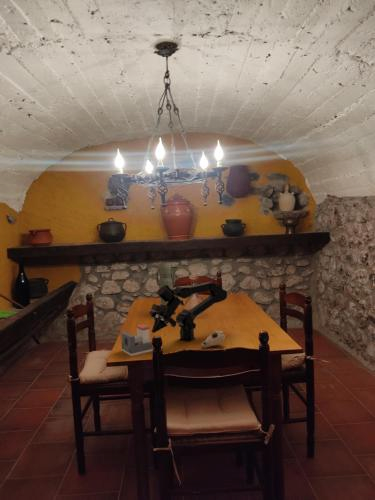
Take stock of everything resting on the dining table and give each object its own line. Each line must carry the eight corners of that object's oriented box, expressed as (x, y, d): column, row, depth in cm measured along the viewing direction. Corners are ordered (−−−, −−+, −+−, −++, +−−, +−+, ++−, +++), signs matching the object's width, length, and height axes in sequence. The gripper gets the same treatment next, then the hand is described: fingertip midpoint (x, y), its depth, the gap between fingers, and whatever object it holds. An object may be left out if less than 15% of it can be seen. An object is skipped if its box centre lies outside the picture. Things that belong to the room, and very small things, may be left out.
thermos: (157, 314, 276) (155, 261, 273) (175, 313, 277) (173, 261, 274) (158, 317, 267) (156, 263, 264) (176, 316, 268) (174, 262, 266)
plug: (144, 344, 206) (143, 324, 206) (149, 347, 201) (148, 326, 201) (126, 348, 201) (126, 327, 200) (132, 351, 196) (131, 330, 195)
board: (146, 345, 209) (146, 343, 209) (156, 350, 201) (156, 348, 201) (122, 350, 202) (122, 348, 202) (131, 356, 194) (131, 353, 194)
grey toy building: (146, 343, 209) (145, 327, 209) (156, 348, 201) (155, 331, 200) (122, 348, 202) (121, 332, 201) (131, 353, 194) (130, 337, 193)
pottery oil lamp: (198, 345, 206) (197, 331, 206) (220, 342, 210) (219, 328, 210) (204, 350, 198) (204, 336, 198) (227, 347, 202) (227, 332, 202)
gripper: (151, 295, 215) (133, 319, 209) (170, 300, 199) (151, 326, 194) (165, 307, 220) (147, 331, 214) (184, 314, 204) (166, 340, 199)
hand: (152, 332), depth 205 cm, fingers closed
